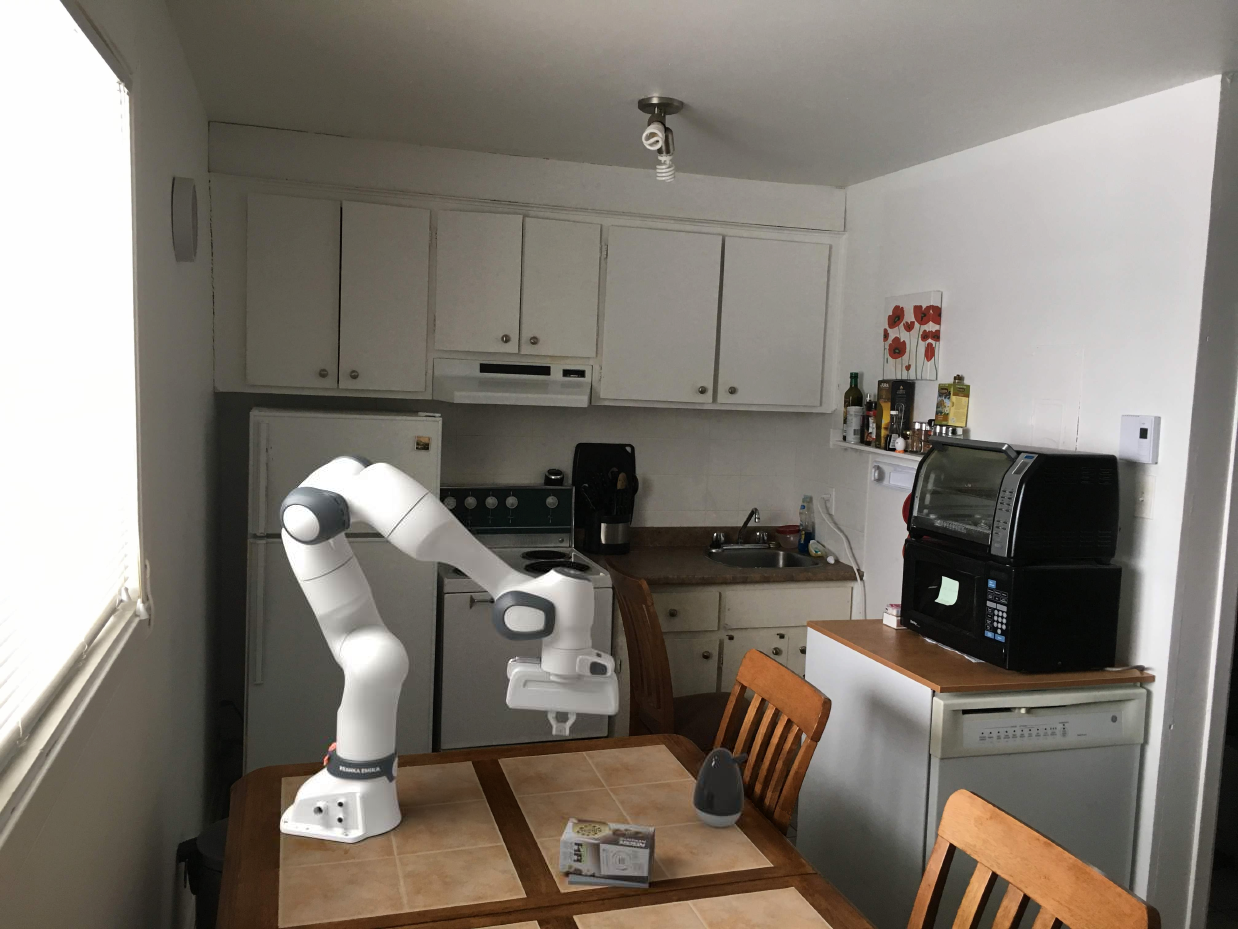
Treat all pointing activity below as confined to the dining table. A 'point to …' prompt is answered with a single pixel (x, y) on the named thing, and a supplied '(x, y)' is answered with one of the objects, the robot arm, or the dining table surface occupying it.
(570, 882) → the mat
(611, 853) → the coffee box
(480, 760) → the dining table surface
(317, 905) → the dining table surface
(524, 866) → the dining table surface
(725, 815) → the pump dispenser
